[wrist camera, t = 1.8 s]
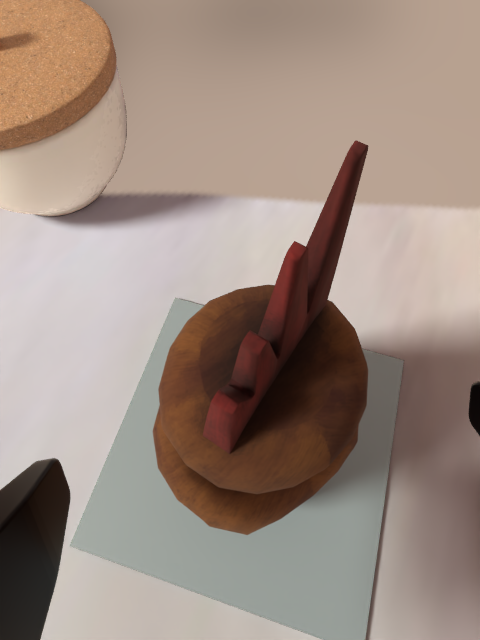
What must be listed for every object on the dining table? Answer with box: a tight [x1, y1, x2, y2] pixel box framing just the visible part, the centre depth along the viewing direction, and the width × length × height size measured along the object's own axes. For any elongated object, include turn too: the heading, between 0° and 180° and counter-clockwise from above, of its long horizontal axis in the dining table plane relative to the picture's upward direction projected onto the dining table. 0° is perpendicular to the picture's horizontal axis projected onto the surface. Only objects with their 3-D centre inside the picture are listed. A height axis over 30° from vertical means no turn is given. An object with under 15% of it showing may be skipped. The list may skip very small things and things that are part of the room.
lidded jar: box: [0, 0, 127, 216], centre depth 21 cm, size 11×11×9 cm
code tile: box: [70, 298, 404, 640], centre depth 18 cm, size 12×12×1 cm
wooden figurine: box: [152, 141, 368, 535], centre depth 11 cm, size 7×6×15 cm
